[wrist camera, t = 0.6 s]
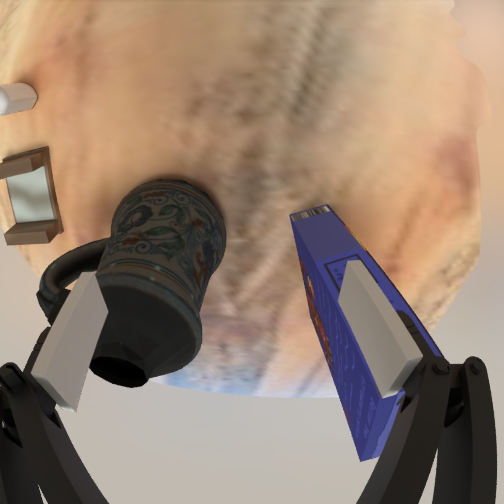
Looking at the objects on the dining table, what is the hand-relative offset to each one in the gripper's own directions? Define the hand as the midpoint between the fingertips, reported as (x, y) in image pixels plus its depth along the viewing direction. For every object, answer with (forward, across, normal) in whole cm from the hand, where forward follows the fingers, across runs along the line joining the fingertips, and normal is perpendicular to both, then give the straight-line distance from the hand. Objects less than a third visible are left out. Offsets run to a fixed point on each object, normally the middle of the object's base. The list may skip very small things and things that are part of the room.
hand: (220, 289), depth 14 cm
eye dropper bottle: (+26, -30, +15) cm, 42 cm away
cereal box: (+26, +16, -17) cm, 35 cm away
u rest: (+26, -31, -1) cm, 40 cm away
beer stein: (+26, -9, -10) cm, 29 cm away
